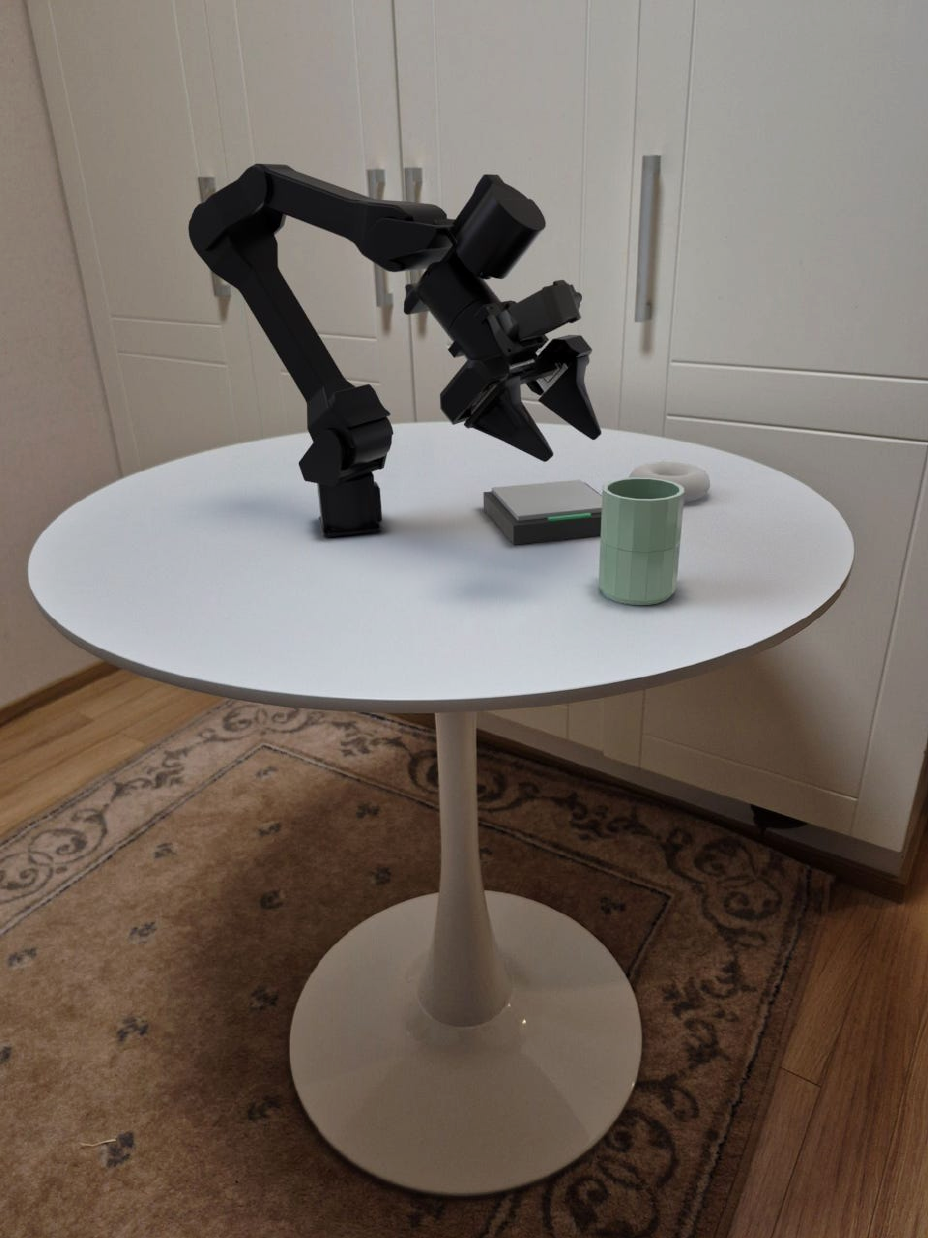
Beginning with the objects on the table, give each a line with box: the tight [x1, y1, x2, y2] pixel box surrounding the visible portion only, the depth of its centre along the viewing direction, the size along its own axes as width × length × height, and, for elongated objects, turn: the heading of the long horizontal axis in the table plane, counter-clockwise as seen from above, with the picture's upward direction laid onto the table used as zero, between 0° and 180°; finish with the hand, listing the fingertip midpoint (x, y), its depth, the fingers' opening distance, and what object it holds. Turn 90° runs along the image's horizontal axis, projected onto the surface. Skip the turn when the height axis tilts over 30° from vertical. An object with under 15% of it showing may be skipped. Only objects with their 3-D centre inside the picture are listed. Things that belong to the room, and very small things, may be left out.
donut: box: [628, 461, 711, 504], centre depth 107 cm, size 10×4×10 cm
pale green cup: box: [598, 477, 685, 606], centre depth 78 cm, size 7×7×10 cm
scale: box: [482, 479, 602, 546], centre depth 99 cm, size 13×13×3 cm
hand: (574, 447), depth 79 cm, fingers open, 9 cm apart
